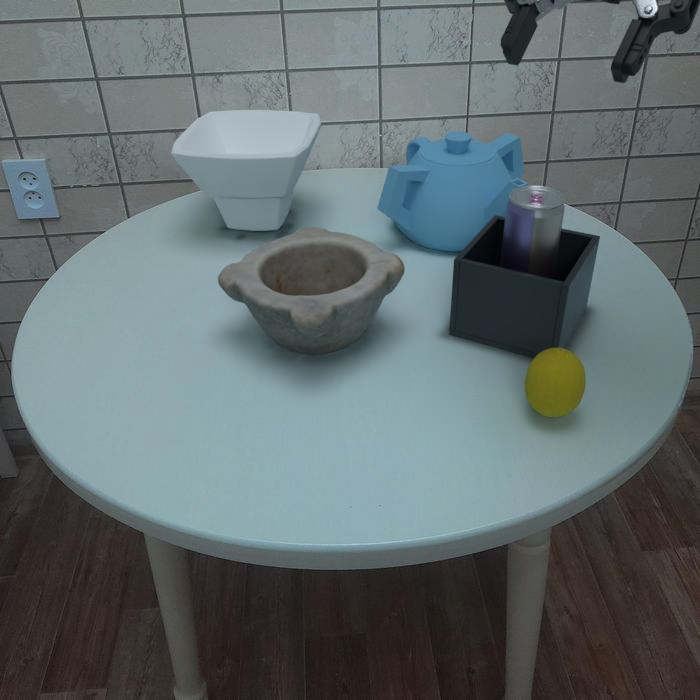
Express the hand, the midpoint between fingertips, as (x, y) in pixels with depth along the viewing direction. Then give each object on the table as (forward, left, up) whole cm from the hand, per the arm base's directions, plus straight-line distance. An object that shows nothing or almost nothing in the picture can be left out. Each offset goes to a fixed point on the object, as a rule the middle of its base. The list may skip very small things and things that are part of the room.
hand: (561, 67), depth 53 cm
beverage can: (+5, -15, -32) cm, 36 cm away
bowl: (+48, -23, -33) cm, 63 cm away
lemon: (-3, -1, -33) cm, 33 cm away
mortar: (+25, -2, -33) cm, 41 cm away
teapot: (+21, -34, -33) cm, 52 cm away
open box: (+5, -15, -33) cm, 36 cm away
